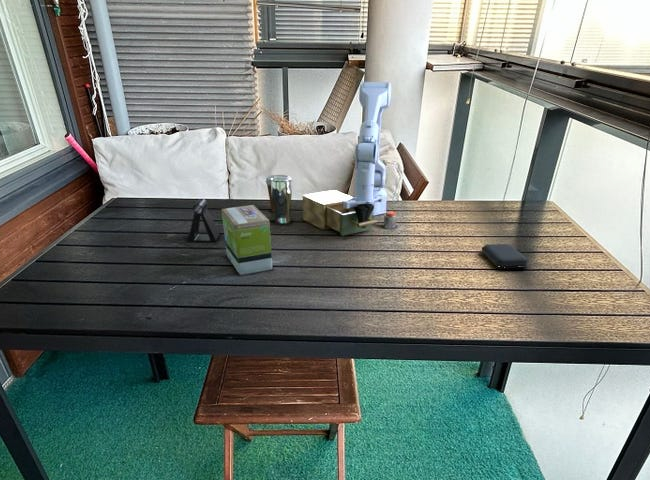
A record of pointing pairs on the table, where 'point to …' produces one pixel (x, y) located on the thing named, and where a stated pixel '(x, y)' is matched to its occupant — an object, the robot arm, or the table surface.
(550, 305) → the table surface
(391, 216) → the small jar with lid
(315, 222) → the cabinet
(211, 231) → the phone stand
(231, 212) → the tea box
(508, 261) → the carrying case
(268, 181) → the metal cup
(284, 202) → the beer glass
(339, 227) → the drawer
